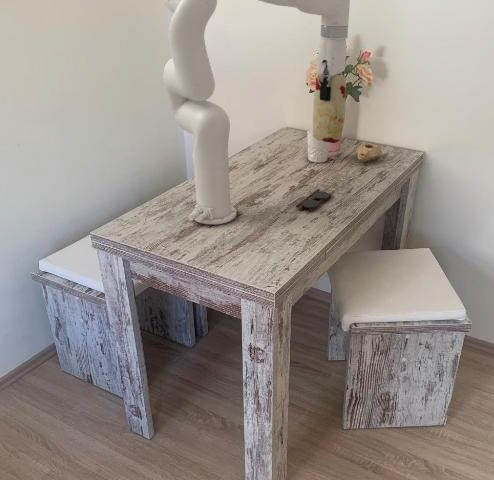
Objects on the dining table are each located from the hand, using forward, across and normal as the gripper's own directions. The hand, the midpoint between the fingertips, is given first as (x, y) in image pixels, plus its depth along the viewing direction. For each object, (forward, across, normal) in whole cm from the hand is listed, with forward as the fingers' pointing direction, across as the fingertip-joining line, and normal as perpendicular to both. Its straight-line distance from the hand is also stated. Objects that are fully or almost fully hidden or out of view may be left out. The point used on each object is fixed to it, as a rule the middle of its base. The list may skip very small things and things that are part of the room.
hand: (330, 97), depth 170 cm
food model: (+13, 0, 0) cm, 13 cm away
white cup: (+27, -18, -12) cm, 35 cm away
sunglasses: (+27, +15, +4) cm, 31 cm away
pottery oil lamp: (+27, -25, +3) cm, 37 cm away
